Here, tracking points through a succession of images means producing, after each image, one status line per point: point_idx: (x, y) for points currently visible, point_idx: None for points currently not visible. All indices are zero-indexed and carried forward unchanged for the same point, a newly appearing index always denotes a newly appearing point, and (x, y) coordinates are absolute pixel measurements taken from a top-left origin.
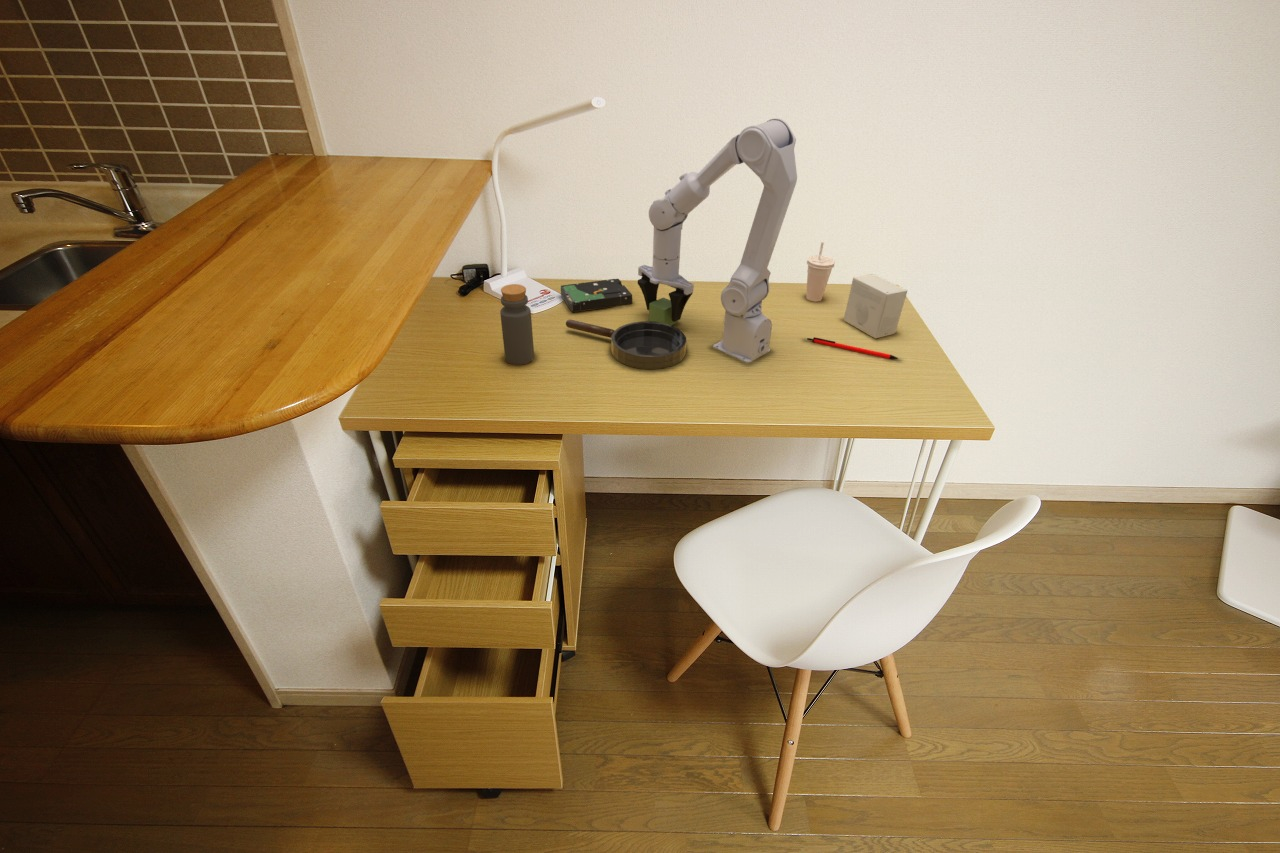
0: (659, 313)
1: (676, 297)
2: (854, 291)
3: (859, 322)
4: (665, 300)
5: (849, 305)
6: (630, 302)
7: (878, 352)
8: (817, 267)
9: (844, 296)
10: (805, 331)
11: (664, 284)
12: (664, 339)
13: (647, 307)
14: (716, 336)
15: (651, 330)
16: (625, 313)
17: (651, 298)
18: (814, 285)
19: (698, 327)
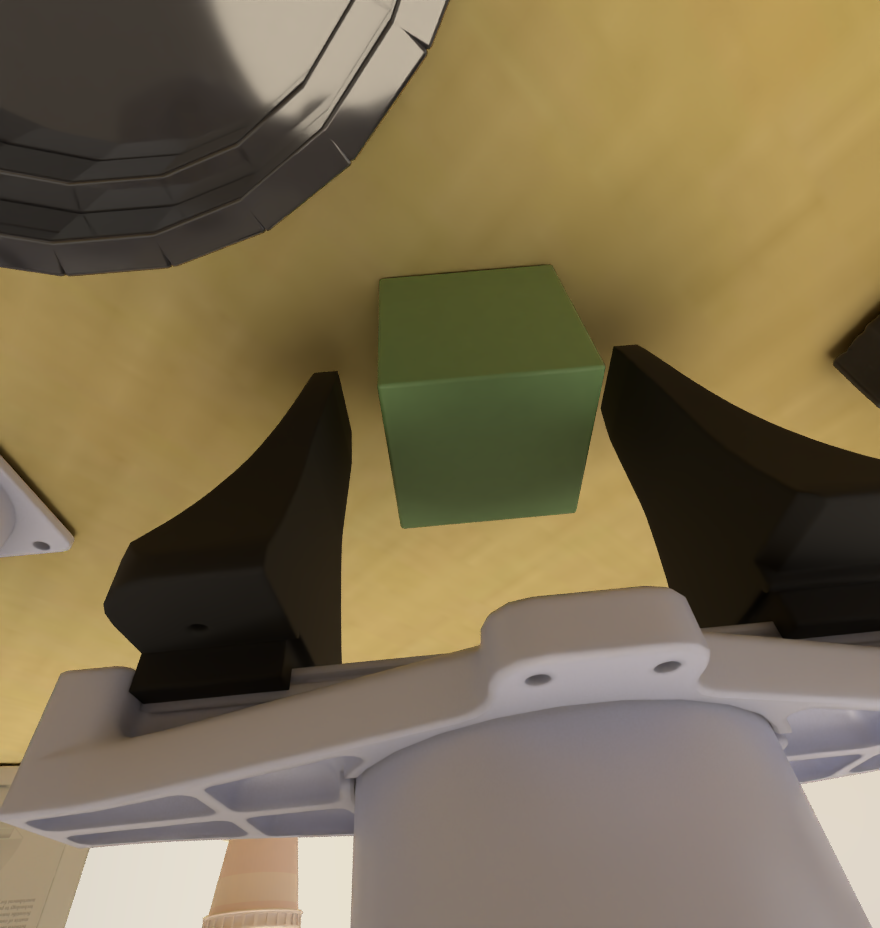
0: (442, 342)
1: (123, 570)
2: (21, 903)
3: (2, 791)
4: (521, 494)
5: None
6: (848, 358)
7: None
8: (222, 918)
9: None
10: (43, 697)
11: (389, 670)
12: (183, 132)
13: (638, 353)
14: (114, 475)
15: (307, 74)
16: (818, 223)
17: (649, 438)
18: None
19: None
